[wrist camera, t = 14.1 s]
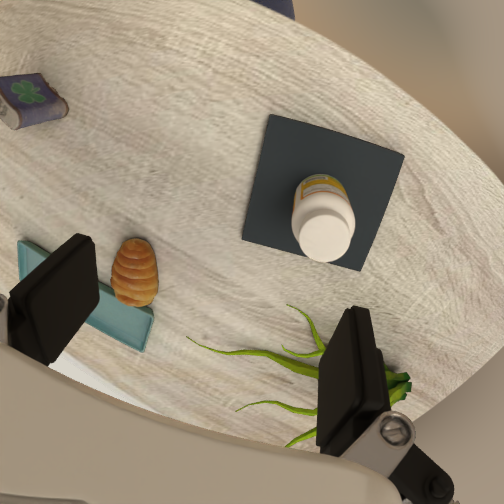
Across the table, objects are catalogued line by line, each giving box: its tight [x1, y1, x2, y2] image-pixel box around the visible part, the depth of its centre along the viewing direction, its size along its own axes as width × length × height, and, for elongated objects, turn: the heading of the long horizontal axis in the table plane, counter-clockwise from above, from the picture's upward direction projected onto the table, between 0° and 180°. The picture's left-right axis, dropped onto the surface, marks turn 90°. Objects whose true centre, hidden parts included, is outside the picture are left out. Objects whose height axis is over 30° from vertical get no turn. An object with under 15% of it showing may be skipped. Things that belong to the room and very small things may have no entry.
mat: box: [242, 114, 405, 272], centre depth 33 cm, size 14×14×1 cm
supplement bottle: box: [292, 174, 355, 262], centre depth 28 cm, size 5×5×10 cm
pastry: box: [110, 238, 159, 307], centre depth 40 cm, size 9×7×4 cm
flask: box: [0, 73, 69, 130], centre depth 27 cm, size 9×3×11 cm, turn 43°
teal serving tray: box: [17, 240, 154, 353], centre depth 45 cm, size 26×9×2 cm, turn 66°
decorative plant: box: [186, 304, 412, 448], centre depth 38 cm, size 18×30×15 cm, turn 50°
